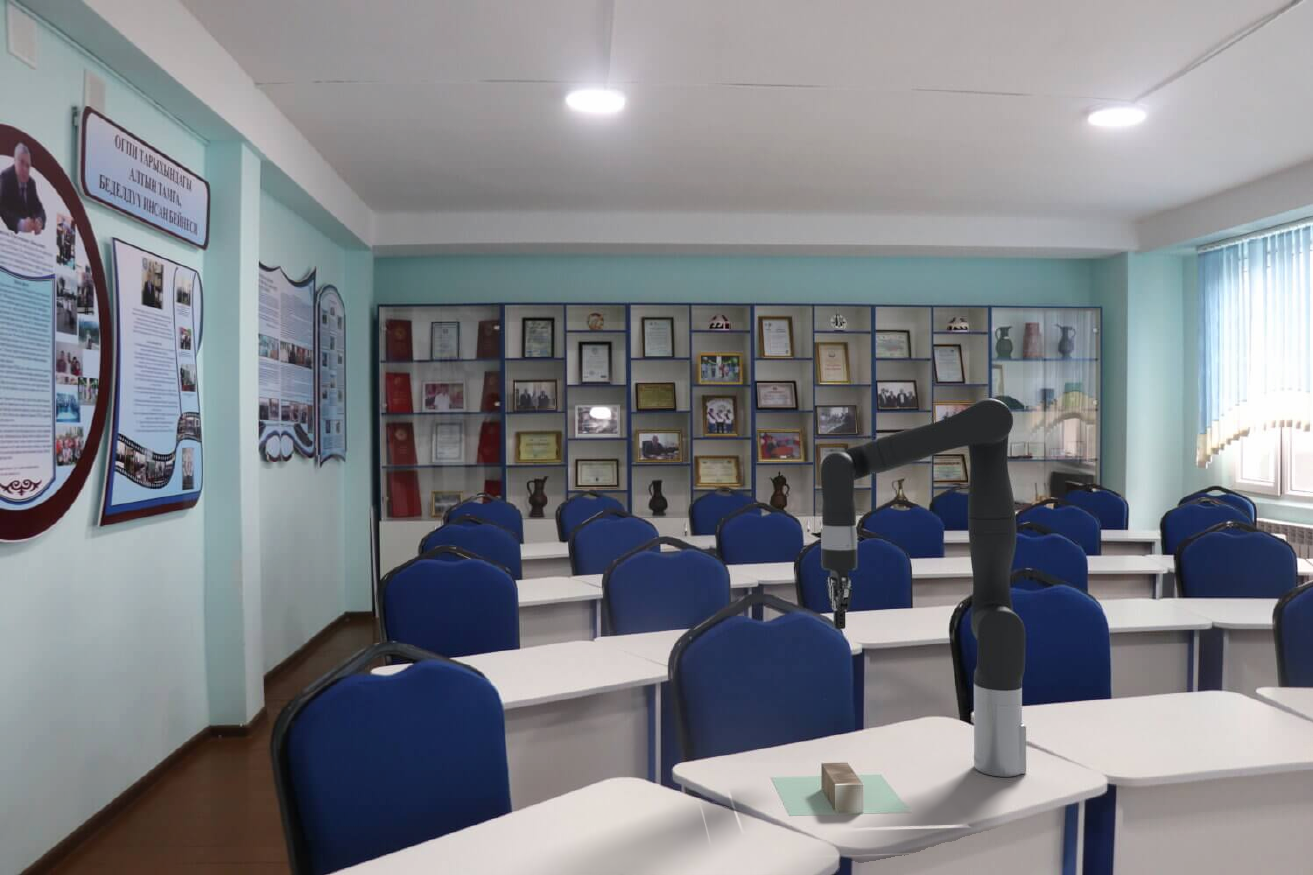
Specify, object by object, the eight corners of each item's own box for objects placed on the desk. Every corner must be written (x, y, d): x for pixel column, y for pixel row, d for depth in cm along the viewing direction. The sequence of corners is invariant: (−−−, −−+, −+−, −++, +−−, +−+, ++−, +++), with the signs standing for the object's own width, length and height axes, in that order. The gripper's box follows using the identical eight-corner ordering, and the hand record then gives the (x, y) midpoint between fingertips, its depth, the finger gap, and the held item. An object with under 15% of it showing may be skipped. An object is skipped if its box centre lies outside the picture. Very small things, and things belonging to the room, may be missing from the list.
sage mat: (880, 776, 192) (880, 774, 192) (911, 814, 173) (911, 812, 173) (770, 779, 191) (770, 777, 191) (789, 818, 172) (789, 815, 172)
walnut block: (847, 762, 184) (863, 784, 173) (847, 788, 184) (863, 812, 173) (821, 763, 184) (835, 785, 173) (821, 789, 184) (835, 812, 173)
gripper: (865, 550, 198) (865, 634, 198) (848, 542, 211) (849, 621, 211) (828, 550, 197) (829, 635, 198) (814, 542, 211) (815, 622, 211)
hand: (839, 628), depth 204 cm, fingers closed
